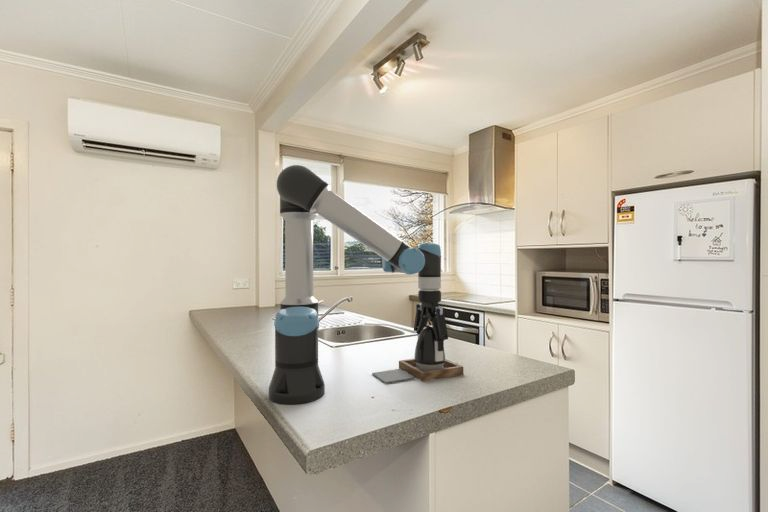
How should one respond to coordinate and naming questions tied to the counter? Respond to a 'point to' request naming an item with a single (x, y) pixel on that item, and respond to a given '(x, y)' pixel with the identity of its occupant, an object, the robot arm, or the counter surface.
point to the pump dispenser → (427, 351)
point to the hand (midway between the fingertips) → (430, 356)
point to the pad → (393, 376)
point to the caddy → (447, 371)
